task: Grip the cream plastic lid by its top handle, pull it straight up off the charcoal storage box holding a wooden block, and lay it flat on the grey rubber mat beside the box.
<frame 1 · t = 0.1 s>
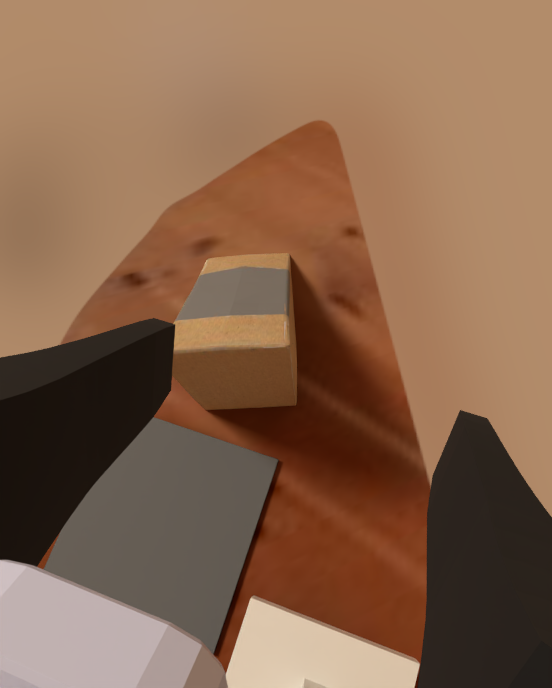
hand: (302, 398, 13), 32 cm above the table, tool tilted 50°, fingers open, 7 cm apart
mat: (162, 519, 43), on the table
sandwich container: (250, 328, 49), on the table
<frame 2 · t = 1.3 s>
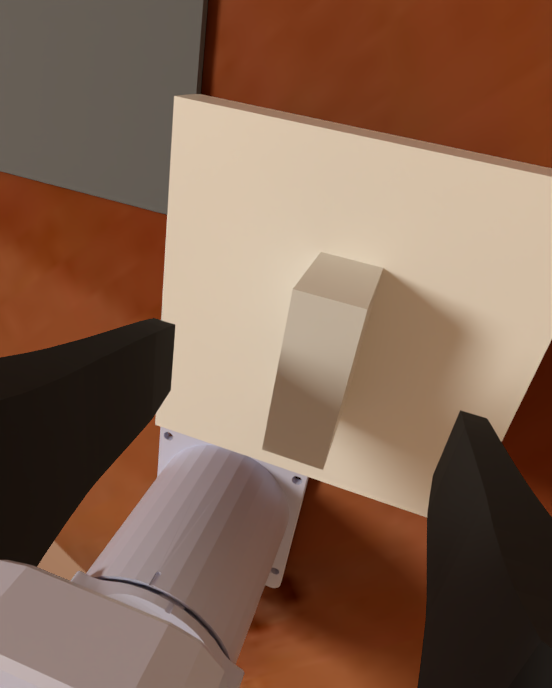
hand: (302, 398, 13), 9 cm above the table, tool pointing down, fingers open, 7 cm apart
lid: (342, 315, 17), point 4 cm above the table, touching storage box
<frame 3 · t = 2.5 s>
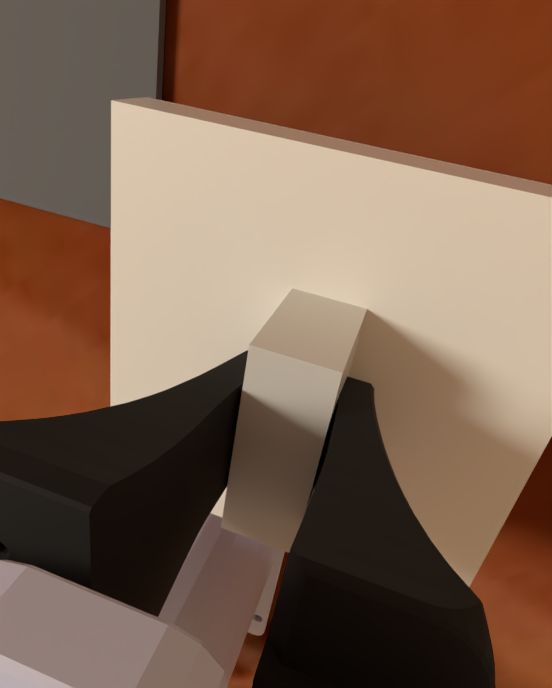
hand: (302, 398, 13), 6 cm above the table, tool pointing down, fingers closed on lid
lid: (322, 357, 15), point 4 cm above the table, touching gripper, storage box
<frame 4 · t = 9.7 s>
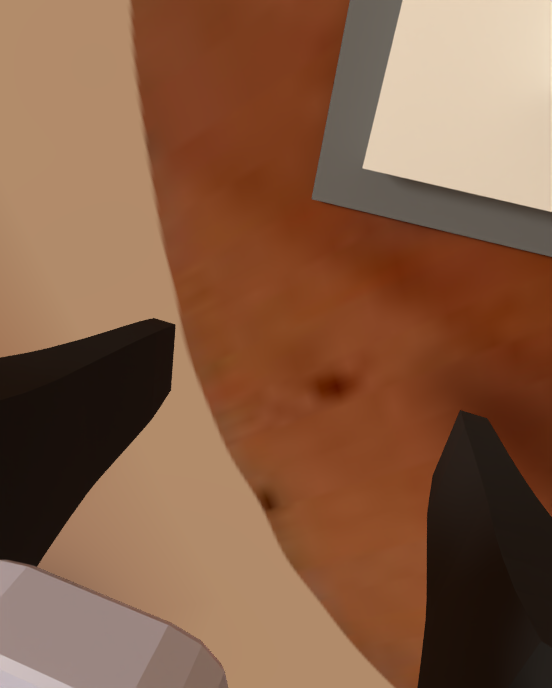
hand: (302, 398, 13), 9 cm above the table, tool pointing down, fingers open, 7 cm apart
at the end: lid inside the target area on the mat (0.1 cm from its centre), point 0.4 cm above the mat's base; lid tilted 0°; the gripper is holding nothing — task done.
